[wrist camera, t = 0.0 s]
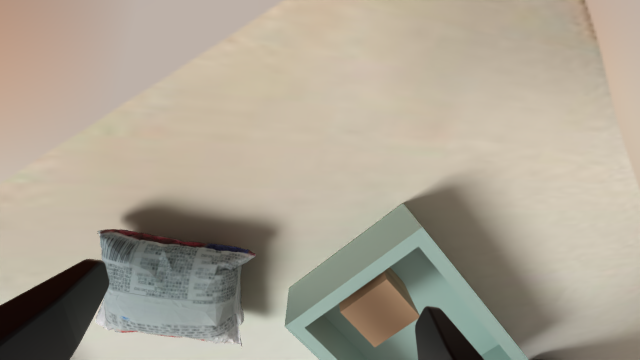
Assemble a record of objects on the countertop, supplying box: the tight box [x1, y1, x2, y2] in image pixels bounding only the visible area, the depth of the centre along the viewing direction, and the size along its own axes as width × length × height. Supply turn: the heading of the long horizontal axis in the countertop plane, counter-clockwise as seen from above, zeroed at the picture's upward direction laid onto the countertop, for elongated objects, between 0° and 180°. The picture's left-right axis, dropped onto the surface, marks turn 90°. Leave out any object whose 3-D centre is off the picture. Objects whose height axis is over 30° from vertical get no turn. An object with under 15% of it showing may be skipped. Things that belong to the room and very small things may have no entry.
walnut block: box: [339, 267, 420, 347], centre depth 24 cm, size 4×4×4 cm
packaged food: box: [95, 229, 256, 349], centre depth 24 cm, size 9×12×5 cm
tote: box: [285, 203, 529, 360], centre depth 25 cm, size 12×17×4 cm
